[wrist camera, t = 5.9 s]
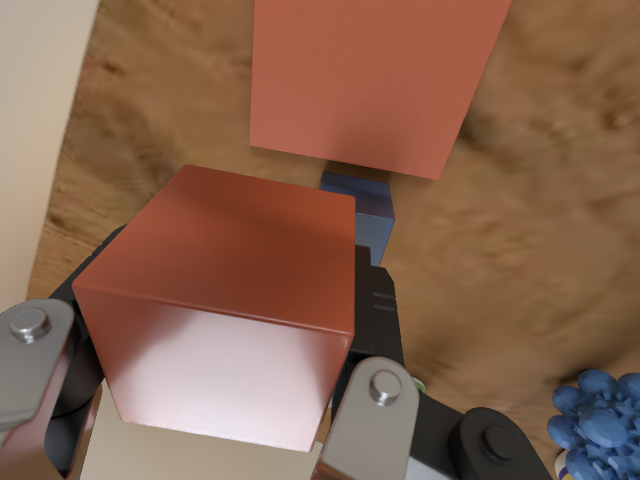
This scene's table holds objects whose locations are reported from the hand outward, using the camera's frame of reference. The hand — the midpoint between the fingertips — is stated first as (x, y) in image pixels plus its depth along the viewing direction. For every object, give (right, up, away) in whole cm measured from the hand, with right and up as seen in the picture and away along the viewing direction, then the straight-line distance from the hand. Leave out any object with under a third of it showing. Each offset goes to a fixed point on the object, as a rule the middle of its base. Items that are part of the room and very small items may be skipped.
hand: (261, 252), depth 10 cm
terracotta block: (0, 0, 0) cm, 0 cm away
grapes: (+26, -12, +23) cm, 37 cm away
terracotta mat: (+4, +10, +9) cm, 14 cm away
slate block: (+4, +3, +14) cm, 15 cm away
